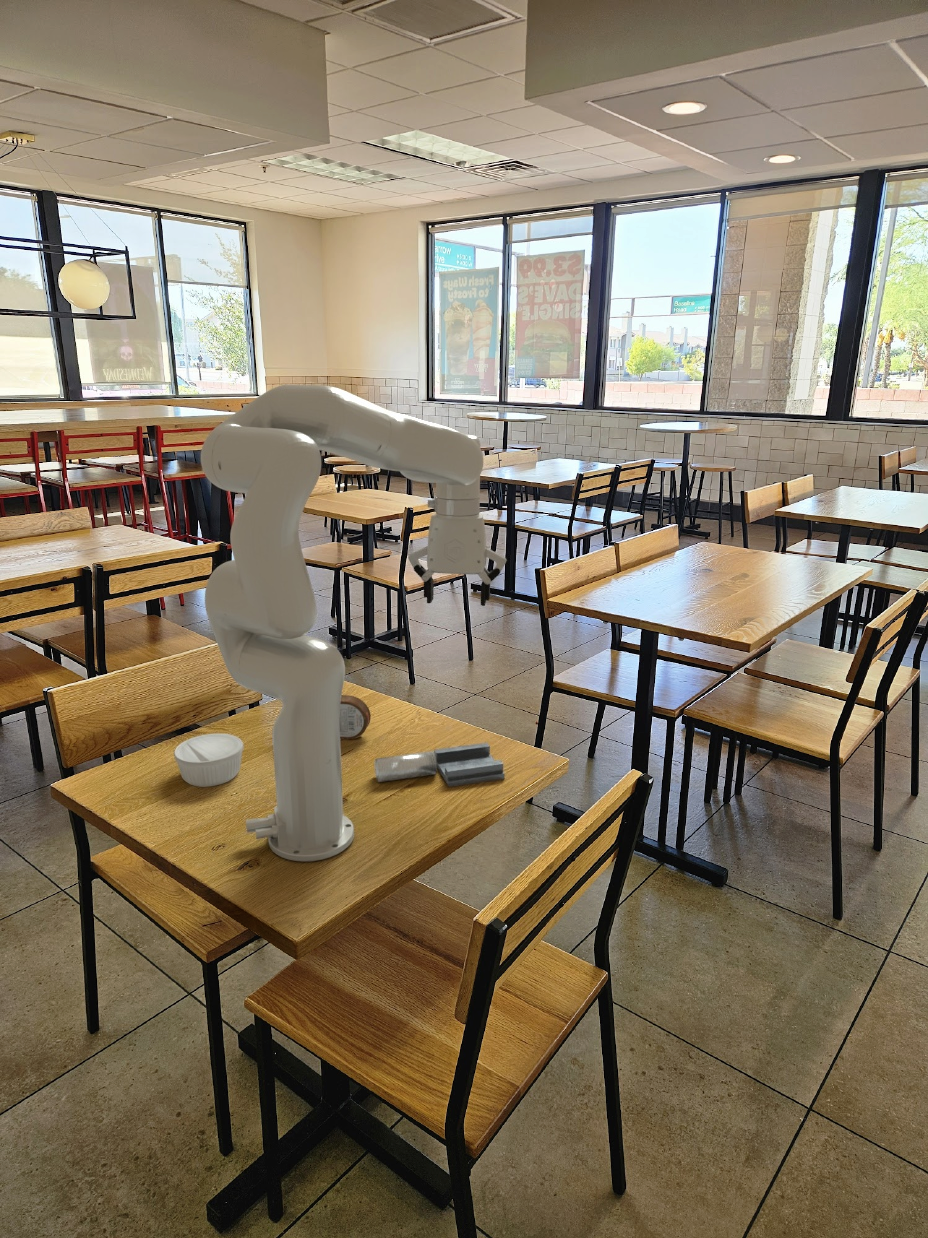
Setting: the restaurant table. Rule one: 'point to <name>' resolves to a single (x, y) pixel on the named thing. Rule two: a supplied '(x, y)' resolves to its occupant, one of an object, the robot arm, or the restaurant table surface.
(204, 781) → the ramekin
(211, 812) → the restaurant table surface
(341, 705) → the tin
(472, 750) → the v block
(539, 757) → the restaurant table surface
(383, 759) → the clear cylinder
